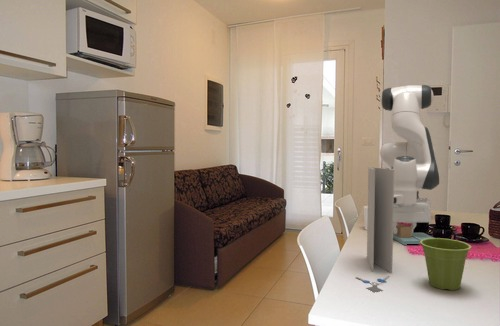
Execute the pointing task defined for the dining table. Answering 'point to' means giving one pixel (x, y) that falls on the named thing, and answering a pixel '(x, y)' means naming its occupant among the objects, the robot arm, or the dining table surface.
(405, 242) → the stub
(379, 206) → the brochure
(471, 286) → the dining table surface
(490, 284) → the dining table surface
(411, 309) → the dining table surface
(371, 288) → the blue grey flat piece
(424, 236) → the teal flat block
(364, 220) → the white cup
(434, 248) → the plant pot
